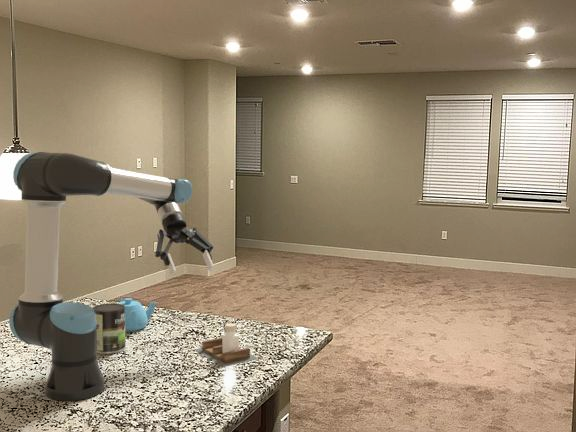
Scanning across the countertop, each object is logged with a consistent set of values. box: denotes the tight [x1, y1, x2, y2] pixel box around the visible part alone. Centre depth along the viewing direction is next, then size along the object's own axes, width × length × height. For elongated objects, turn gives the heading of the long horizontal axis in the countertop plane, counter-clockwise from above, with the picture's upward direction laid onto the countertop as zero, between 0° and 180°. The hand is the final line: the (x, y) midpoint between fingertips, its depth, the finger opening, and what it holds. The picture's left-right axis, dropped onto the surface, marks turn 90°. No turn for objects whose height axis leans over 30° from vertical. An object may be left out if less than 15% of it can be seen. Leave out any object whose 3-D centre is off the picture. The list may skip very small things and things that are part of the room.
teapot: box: [116, 297, 157, 333], centre depth 229 cm, size 15×15×11 cm
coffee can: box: [92, 302, 127, 355], centre depth 204 cm, size 10×10×14 cm
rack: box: [201, 337, 251, 364], centre depth 200 cm, size 15×9×3 cm, turn 37°
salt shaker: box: [221, 322, 240, 353], centre depth 197 cm, size 4×4×10 cm
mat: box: [194, 347, 259, 368], centre depth 201 cm, size 19×13×1 cm
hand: (193, 270), depth 201 cm, fingers open, 13 cm apart
